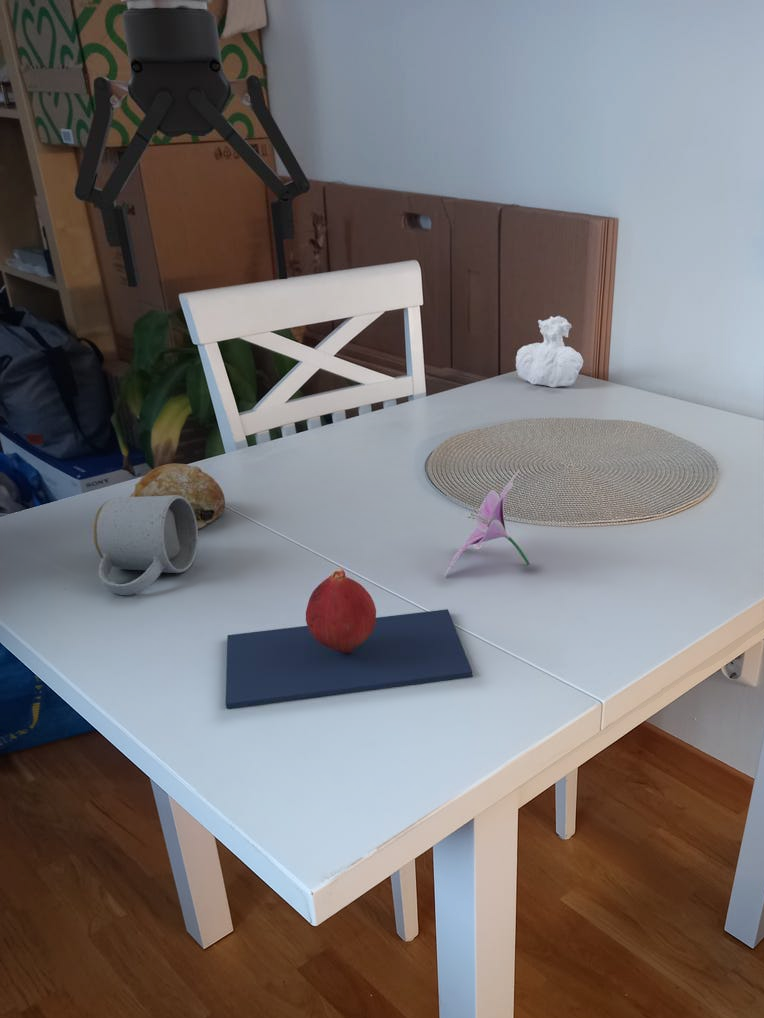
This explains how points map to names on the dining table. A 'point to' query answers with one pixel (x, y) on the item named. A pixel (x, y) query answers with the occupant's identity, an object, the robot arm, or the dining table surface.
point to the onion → (340, 613)
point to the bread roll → (185, 489)
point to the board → (342, 660)
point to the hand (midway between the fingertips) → (209, 280)
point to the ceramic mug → (144, 538)
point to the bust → (550, 356)
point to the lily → (489, 523)
